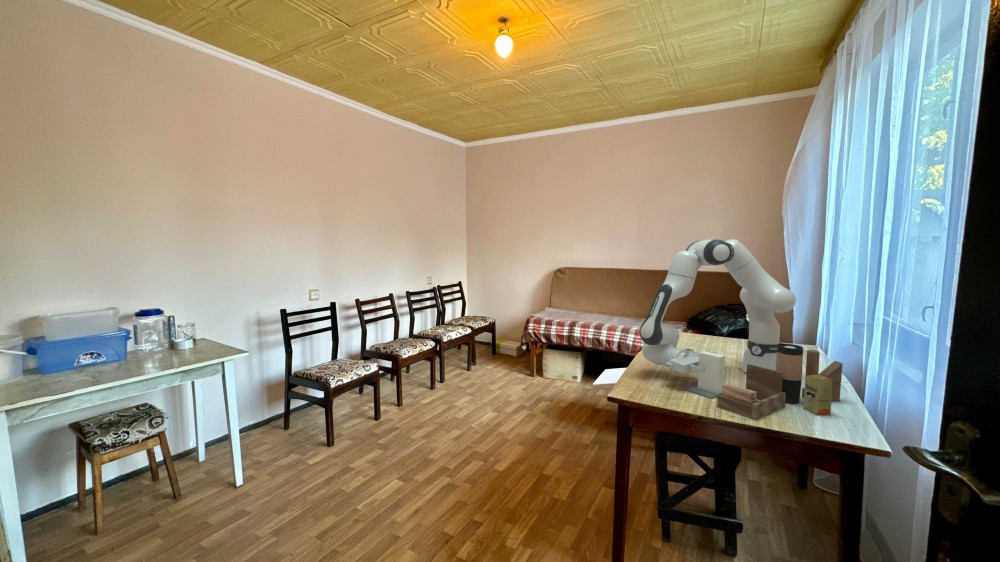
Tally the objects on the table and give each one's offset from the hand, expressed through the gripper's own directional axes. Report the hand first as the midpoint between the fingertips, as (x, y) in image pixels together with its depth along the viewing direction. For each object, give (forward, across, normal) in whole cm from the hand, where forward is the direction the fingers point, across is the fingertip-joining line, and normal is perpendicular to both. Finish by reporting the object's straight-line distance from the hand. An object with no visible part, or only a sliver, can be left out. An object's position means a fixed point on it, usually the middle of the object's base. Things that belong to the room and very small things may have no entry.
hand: (711, 368), depth 149 cm
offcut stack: (+15, -8, +9) cm, 20 cm away
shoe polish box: (+30, +12, +9) cm, 33 cm away
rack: (+16, -2, +9) cm, 18 cm away
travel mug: (+20, +15, +9) cm, 26 cm away
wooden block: (+26, +26, +10) cm, 38 cm away
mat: (-1, 0, +9) cm, 9 cm away
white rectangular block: (0, 0, +9) cm, 9 cm away
